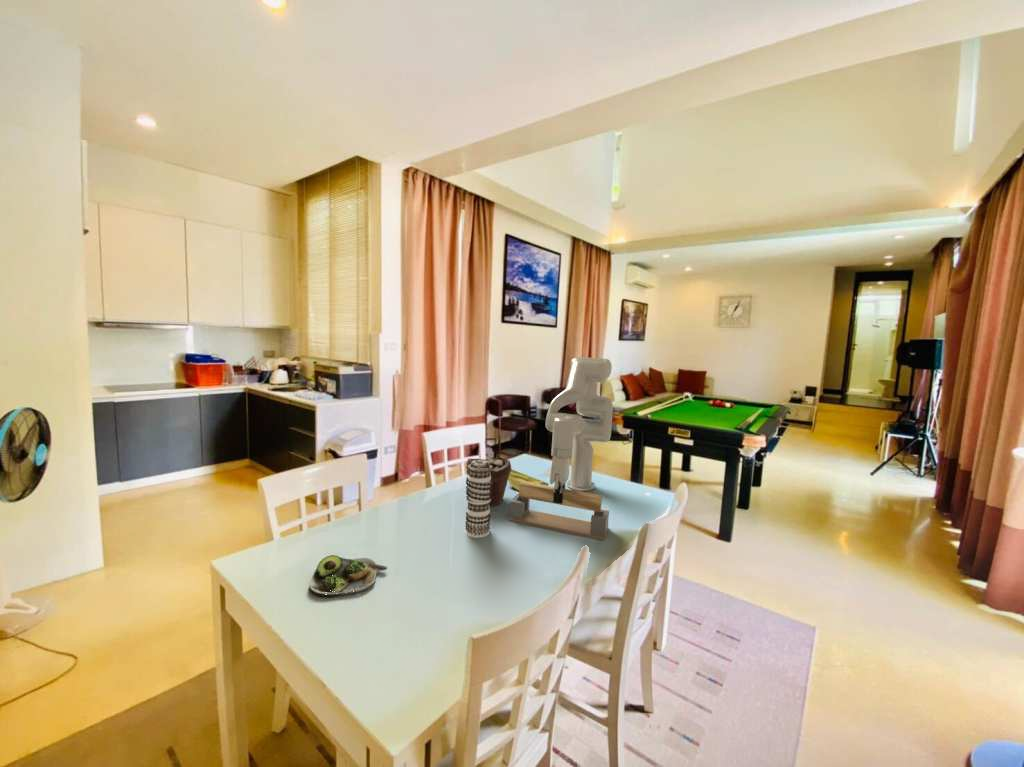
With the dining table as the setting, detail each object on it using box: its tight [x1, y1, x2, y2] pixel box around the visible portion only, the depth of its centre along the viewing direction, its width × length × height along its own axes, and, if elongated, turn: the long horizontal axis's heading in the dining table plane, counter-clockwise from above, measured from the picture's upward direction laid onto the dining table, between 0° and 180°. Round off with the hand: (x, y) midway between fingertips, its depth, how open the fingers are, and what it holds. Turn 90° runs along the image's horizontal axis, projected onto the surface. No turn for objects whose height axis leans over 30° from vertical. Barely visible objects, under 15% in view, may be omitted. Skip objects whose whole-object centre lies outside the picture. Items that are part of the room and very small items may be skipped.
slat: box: [518, 481, 603, 512], centre depth 152 cm, size 3×30×5 cm, turn 69°
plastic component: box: [507, 469, 550, 491], centre depth 188 cm, size 20×7×10 cm
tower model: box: [465, 460, 493, 539], centre depth 143 cm, size 9×9×25 cm
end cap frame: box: [508, 493, 610, 541], centre depth 153 cm, size 10×35×7 cm, turn 69°
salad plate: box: [308, 554, 388, 598], centre depth 116 cm, size 19×18×5 cm
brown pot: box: [465, 457, 513, 507], centre depth 172 cm, size 18×20×18 cm
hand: (559, 500), depth 152 cm, fingers closed on slat, 3 cm apart
